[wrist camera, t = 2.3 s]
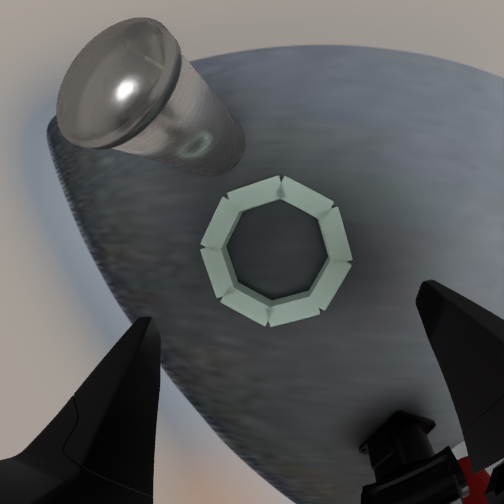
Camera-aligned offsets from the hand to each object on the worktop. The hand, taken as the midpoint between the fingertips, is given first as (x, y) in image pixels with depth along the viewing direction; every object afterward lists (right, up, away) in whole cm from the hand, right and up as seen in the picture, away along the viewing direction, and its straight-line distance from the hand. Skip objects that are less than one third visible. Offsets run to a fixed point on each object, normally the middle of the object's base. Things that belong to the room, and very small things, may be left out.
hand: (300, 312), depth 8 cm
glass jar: (-5, +10, +12) cm, 16 cm away
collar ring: (0, +2, +12) cm, 12 cm away
